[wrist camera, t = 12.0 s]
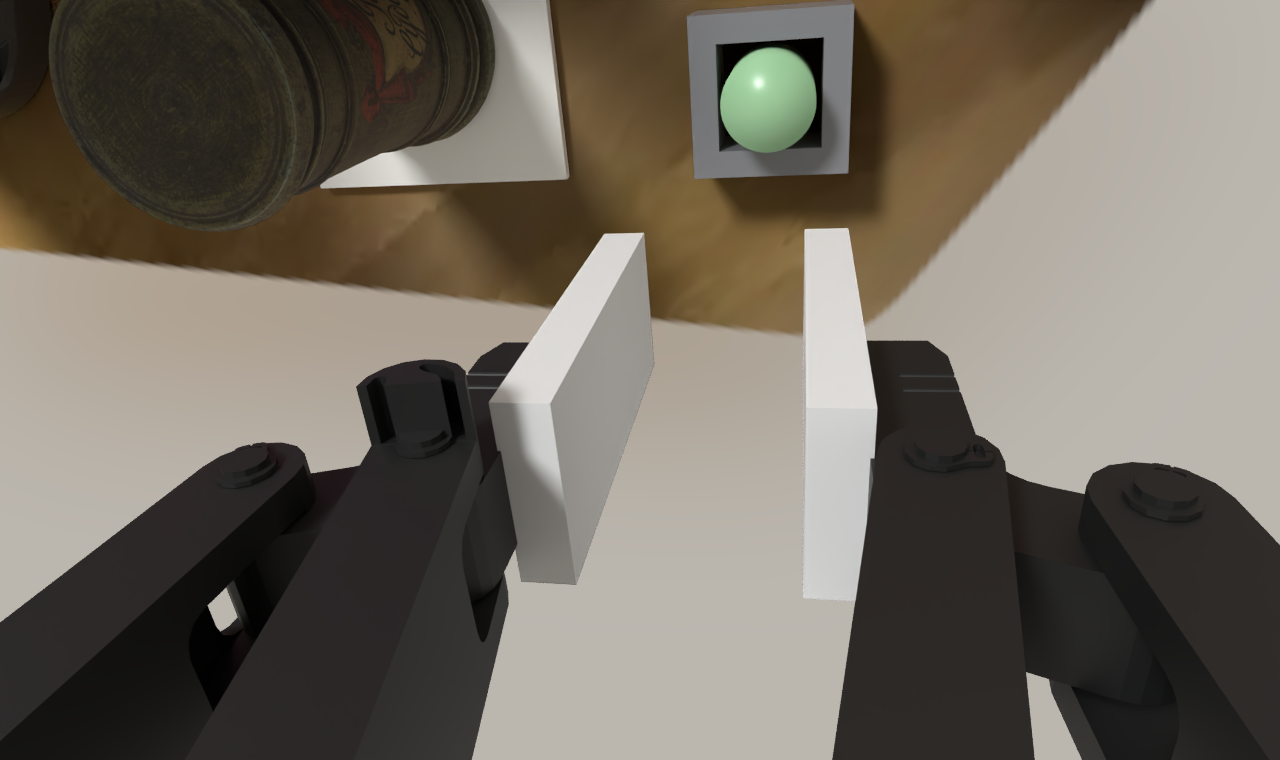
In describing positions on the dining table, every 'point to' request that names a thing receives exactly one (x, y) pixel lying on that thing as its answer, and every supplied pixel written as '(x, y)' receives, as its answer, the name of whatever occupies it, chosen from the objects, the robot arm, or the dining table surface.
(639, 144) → the dining table surface
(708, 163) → the button housing
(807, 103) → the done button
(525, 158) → the paper sheet
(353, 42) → the container
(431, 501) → the robot arm
